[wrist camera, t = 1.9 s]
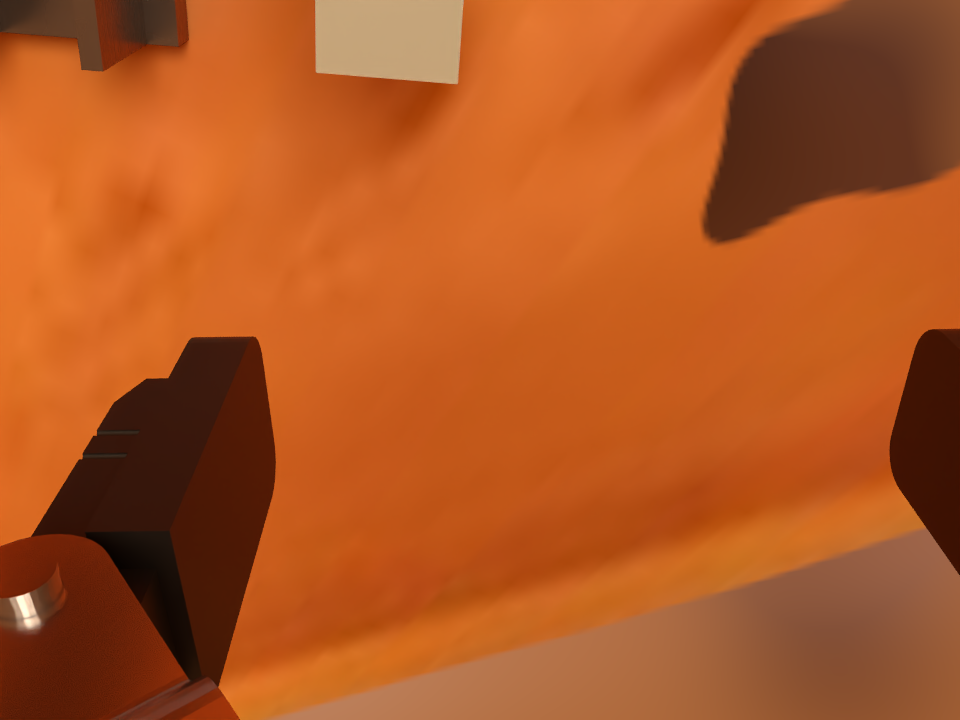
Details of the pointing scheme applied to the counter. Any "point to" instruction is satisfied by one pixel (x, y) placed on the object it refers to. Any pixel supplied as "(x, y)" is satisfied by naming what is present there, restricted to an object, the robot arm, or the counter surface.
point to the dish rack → (100, 25)
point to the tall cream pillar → (389, 38)
